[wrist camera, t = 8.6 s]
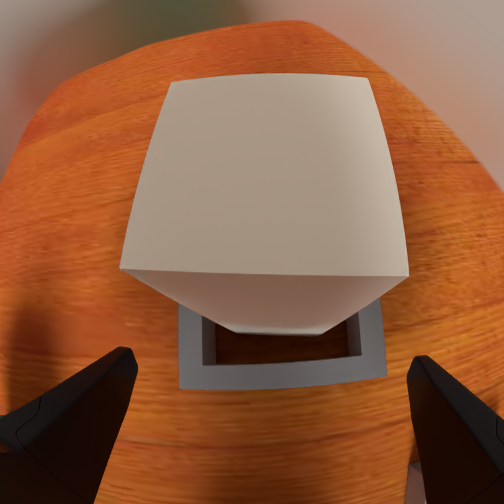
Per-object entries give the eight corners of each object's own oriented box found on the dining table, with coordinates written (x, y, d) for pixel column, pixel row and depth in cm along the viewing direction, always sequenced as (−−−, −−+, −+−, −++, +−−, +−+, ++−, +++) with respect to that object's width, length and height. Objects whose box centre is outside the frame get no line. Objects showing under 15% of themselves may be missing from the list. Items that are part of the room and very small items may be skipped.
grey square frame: (370, 373, 15) (386, 376, 12) (196, 384, 16) (179, 389, 13) (350, 213, 18) (360, 189, 16) (196, 225, 19) (182, 203, 16)
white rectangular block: (317, 336, 16) (409, 276, 4) (238, 333, 17) (118, 268, 5) (318, 260, 18) (367, 78, 5) (243, 258, 18) (171, 82, 6)
